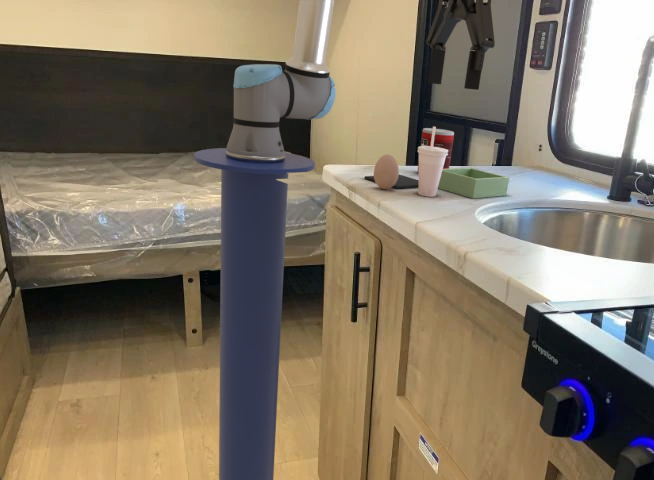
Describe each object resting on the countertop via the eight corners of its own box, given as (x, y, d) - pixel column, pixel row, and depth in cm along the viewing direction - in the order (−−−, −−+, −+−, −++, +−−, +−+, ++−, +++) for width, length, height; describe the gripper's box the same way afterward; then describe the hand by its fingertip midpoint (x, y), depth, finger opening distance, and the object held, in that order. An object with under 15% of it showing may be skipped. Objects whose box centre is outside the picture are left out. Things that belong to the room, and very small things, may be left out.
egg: (384, 185, 132) (388, 152, 129) (401, 190, 129) (406, 156, 126) (367, 187, 129) (370, 152, 126) (384, 192, 125) (388, 157, 122)
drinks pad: (364, 178, 138) (364, 176, 138) (399, 176, 145) (399, 174, 144) (396, 188, 130) (396, 186, 130) (431, 186, 137) (431, 183, 137)
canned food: (423, 170, 157) (428, 127, 153) (452, 175, 154) (458, 131, 150) (412, 173, 151) (418, 128, 147) (442, 179, 148) (448, 133, 144)
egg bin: (434, 187, 137) (436, 169, 135) (467, 184, 144) (470, 167, 142) (472, 198, 129) (475, 179, 127) (506, 195, 136) (509, 177, 134)
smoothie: (429, 191, 132) (438, 125, 126) (448, 197, 127) (458, 129, 122) (406, 191, 128) (414, 124, 123) (424, 198, 123) (433, 128, 118)
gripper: (529, -40, 100) (506, 93, 108) (450, -28, 121) (436, 83, 129) (492, -48, 97) (471, 90, 105) (418, -34, 118) (405, 80, 126)
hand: (451, 86), depth 117 cm, fingers open, 13 cm apart
